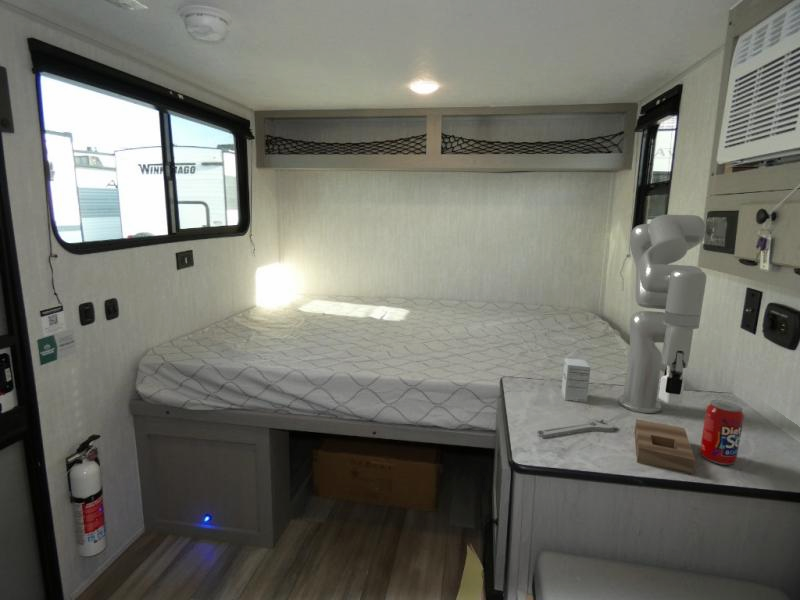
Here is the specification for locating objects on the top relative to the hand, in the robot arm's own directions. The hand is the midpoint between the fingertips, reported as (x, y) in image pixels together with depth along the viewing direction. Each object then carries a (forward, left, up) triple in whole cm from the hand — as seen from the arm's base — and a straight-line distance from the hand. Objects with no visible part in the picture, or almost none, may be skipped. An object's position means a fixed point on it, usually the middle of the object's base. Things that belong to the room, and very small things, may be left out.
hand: (671, 388), depth 116 cm
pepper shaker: (0, 0, -4) cm, 4 cm away
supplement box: (-30, -24, -19) cm, 43 cm away
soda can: (-5, +13, -19) cm, 23 cm away
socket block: (-2, 0, -19) cm, 19 cm away
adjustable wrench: (-5, -22, -19) cm, 30 cm away
